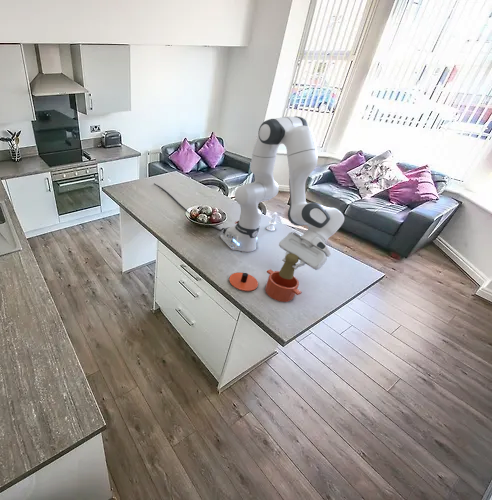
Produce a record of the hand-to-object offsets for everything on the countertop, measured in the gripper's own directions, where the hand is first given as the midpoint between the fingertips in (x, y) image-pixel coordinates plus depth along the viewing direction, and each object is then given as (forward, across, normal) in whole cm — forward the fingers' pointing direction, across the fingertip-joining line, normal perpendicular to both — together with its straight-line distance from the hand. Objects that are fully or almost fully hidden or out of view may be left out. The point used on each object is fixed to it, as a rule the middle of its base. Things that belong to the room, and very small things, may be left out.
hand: (288, 265), depth 127 cm
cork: (+4, 0, +5) cm, 6 cm away
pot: (+11, 0, +12) cm, 17 cm away
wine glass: (-19, -47, +42) cm, 66 cm away
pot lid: (+19, -13, +4) cm, 23 cm away
